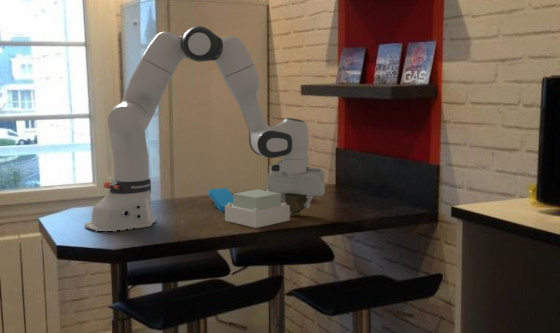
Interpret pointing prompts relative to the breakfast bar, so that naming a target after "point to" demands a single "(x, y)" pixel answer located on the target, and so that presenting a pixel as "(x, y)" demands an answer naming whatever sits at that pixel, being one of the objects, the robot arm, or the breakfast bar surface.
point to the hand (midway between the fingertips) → (295, 207)
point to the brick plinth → (257, 209)
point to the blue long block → (221, 198)
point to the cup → (295, 203)
